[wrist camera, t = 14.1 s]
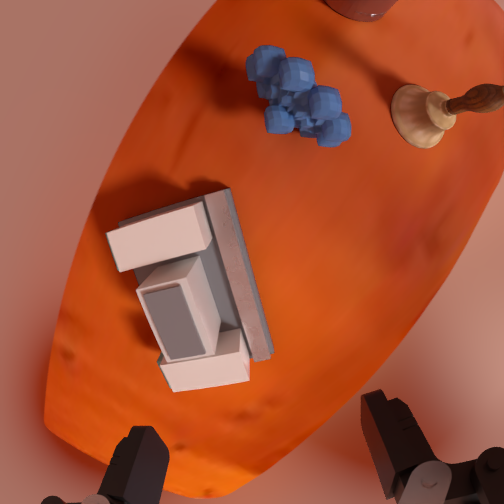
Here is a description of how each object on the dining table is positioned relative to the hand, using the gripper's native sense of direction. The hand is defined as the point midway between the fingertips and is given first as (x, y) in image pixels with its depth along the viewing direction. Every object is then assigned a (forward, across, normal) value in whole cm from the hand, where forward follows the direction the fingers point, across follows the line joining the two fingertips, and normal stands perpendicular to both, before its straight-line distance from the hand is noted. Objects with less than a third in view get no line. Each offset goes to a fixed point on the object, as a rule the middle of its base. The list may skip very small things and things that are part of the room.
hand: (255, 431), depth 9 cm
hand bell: (+25, -24, -12) cm, 36 cm away
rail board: (+24, +7, +3) cm, 25 cm away
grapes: (+25, -7, -14) cm, 29 cm away
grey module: (+23, +8, +3) cm, 24 cm away
